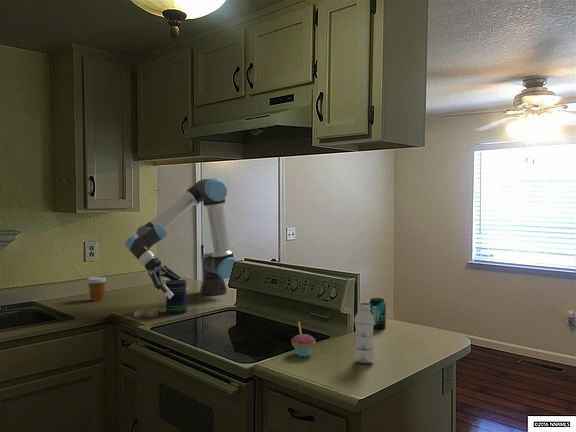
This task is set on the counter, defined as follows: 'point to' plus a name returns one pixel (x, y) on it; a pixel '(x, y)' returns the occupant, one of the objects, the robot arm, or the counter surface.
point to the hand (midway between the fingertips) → (178, 293)
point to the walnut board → (146, 313)
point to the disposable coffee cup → (96, 288)
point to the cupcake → (303, 343)
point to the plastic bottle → (364, 334)
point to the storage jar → (176, 297)
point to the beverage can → (378, 312)
